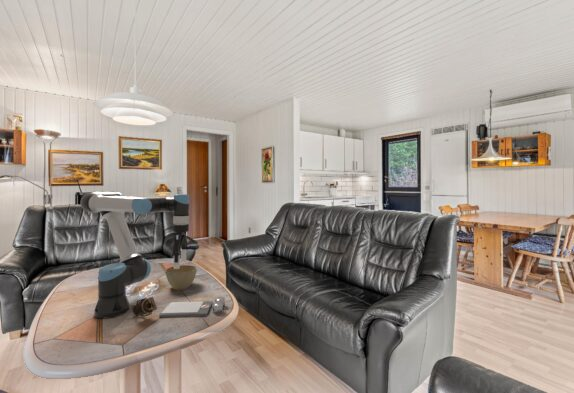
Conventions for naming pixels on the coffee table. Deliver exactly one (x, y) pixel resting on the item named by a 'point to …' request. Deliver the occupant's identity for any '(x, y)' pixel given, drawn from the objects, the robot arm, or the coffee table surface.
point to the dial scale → (186, 309)
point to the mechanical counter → (144, 307)
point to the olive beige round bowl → (181, 276)
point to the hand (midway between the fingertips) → (180, 264)
